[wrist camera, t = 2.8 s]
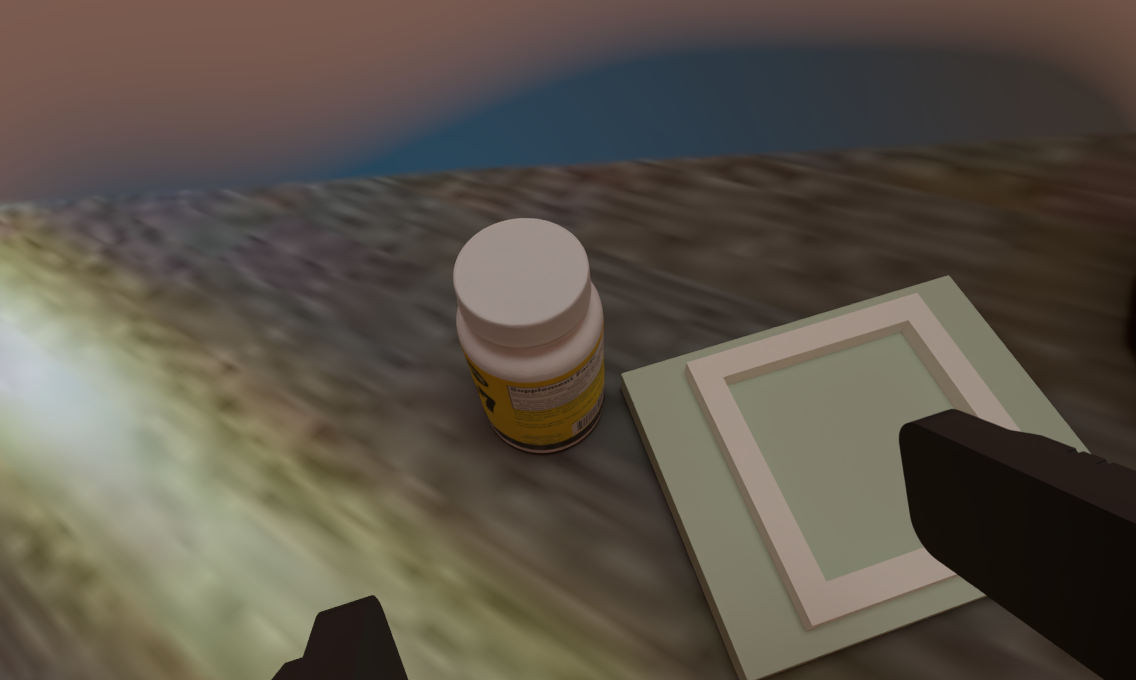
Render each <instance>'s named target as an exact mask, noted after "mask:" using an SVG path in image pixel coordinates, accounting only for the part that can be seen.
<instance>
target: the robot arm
mask: <svg viewBox="0 0 1136 680" xmlns="http://www.w3.org/2000/svg"><path fill="white" fill-rule="evenodd" d="M899 447H900V454H901V460H902V467H903V474H904V480H905V487H906V494H907V500H908V507H909V514H910V519H911V523H912V526H913V528H914V531H915V533H916V535H917V537H918V539H919V540H920V542H921V544H922V545H923V546H924V548H925V549H926V550H927V551H928V553H929V554H930V555H931V556H932V557H934V558H935V559H936V560H937V561H939V562H940V563H942V564H943V565H944V566H946V567H947V568H949V569H950V570H951V571H953V572H954V573H956V574H957V575H958V576H960V577H961V578H963V579H964V580H965V581H967V582H968V583H970V584H971V585H972V586H974V587H975V588H977V589H978V590H979V591H981V592H982V593H984V594H985V595H986V596H988V597H989V598H991V599H992V600H993V601H995V602H996V603H998V604H999V605H1000V606H1002V607H1003V608H1005V609H1006V610H1007V611H1009V612H1010V613H1012V614H1013V615H1014V616H1016V617H1017V618H1019V619H1020V620H1021V621H1023V622H1024V623H1026V624H1027V625H1028V626H1030V627H1031V628H1033V629H1034V630H1035V631H1037V632H1038V633H1040V634H1041V635H1042V636H1044V637H1045V638H1047V639H1048V640H1049V641H1051V642H1052V643H1054V644H1055V645H1056V646H1058V647H1059V648H1061V649H1062V650H1063V651H1065V652H1066V653H1068V654H1069V655H1070V656H1072V657H1073V658H1075V659H1076V660H1077V661H1079V662H1080V663H1082V664H1083V665H1084V666H1086V667H1087V668H1089V669H1090V670H1091V671H1093V672H1094V673H1096V674H1097V675H1098V676H1100V677H1101V678H1103V679H1104V680H1136V471H1135V470H1132V469H1129V468H1127V467H1124V466H1121V465H1119V464H1116V463H1111V464H1108V463H1107V462H1106V459H1103V458H1100V457H1098V456H1095V455H1092V454H1090V453H1087V452H1084V451H1082V452H1078V451H1077V450H1076V448H1074V447H1071V446H1069V445H1066V444H1063V443H1061V442H1058V441H1055V440H1053V439H1050V438H1047V437H1045V436H1042V435H1038V434H1032V433H1026V432H1020V431H1014V430H1009V429H1006V428H1004V427H1001V426H999V425H996V424H994V423H991V422H988V421H986V420H983V419H981V418H978V417H976V416H973V415H970V414H968V413H965V412H963V411H960V410H957V409H949V410H945V411H942V412H939V413H936V414H933V415H930V416H927V417H924V418H921V419H918V420H915V421H911V422H908V423H906V424H904V425H903V426H902V427H901V429H900V432H899ZM272 680H408V678H407V675H406V672H405V669H404V667H403V664H402V661H401V658H400V655H399V653H398V650H397V647H396V644H395V642H394V639H393V636H392V633H391V630H390V628H389V625H388V622H387V619H386V617H385V614H384V611H383V609H382V606H381V604H380V602H379V601H378V599H377V598H376V597H375V596H374V595H371V596H368V597H365V598H362V599H359V600H356V601H353V602H350V603H347V604H343V605H340V606H337V607H334V608H331V609H328V610H325V611H322V612H320V613H318V615H317V616H316V619H315V622H314V625H313V628H312V631H311V634H310V637H309V640H308V643H307V646H306V649H305V652H304V655H303V657H302V658H299V659H296V660H293V661H290V662H287V663H285V664H284V665H283V666H282V667H281V669H280V670H279V671H278V672H277V673H276V675H275V676H274V677H273V678H272Z"/></svg>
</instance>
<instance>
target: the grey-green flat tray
mask: <svg viewBox="0 0 1136 680" xmlns="http://www.w3.org/2000/svg"><path fill="white" fill-rule="evenodd" d="M621 390H622V393H623V395H624V397H625V400H626V402H627V405H628V407H629V410H630V412H631V415H632V417H633V420H634V422H635V425H636V427H637V430H638V432H639V434H640V437H641V439H642V442H643V444H644V447H645V449H646V452H647V454H648V457H649V459H650V462H651V464H652V467H653V469H654V471H655V474H656V476H657V479H658V481H659V484H660V486H661V489H662V491H663V494H664V496H665V499H666V501H667V504H668V506H669V508H670V511H671V513H672V516H673V518H674V521H675V523H676V526H677V528H678V531H679V533H680V536H681V538H682V541H683V543H684V545H685V548H686V550H687V553H688V555H689V558H690V560H691V563H692V565H693V568H694V570H695V573H696V575H697V578H698V580H699V583H700V585H701V587H702V590H703V592H704V595H705V597H706V600H707V602H708V605H709V607H710V610H711V612H712V615H713V617H714V620H715V622H716V624H717V627H718V629H719V632H720V634H721V637H722V639H723V642H724V644H725V647H726V649H727V652H728V654H729V657H730V659H731V661H732V664H733V666H734V669H735V671H736V674H737V676H738V679H739V680H760V679H763V678H766V677H769V676H771V675H774V674H777V673H780V672H782V671H785V670H788V669H790V668H793V667H796V666H799V665H801V664H804V663H807V662H810V661H812V660H815V659H818V658H820V657H823V656H826V655H829V654H831V653H834V652H837V651H840V650H842V649H845V648H848V647H850V646H853V645H856V644H859V643H861V642H864V641H867V640H870V639H872V638H875V637H878V636H880V635H883V634H886V633H889V632H891V631H894V630H897V629H900V628H902V627H905V626H908V625H911V624H913V623H916V622H919V621H921V620H924V619H927V618H930V617H932V616H935V615H938V614H941V613H943V612H946V611H949V610H951V609H954V608H957V607H960V606H962V605H965V604H968V603H971V602H973V601H976V600H979V599H981V598H984V597H987V596H986V595H985V594H984V593H982V592H981V591H979V590H978V589H977V588H975V587H974V586H972V585H971V584H970V583H968V582H967V581H965V580H964V579H963V578H961V577H960V576H958V575H957V574H956V573H954V572H953V571H951V570H950V569H949V568H947V567H946V566H944V565H943V564H942V563H940V562H939V561H937V560H936V559H935V558H934V557H932V556H931V555H930V554H929V553H928V551H927V550H926V549H925V548H924V546H923V545H922V544H921V542H920V540H919V539H918V537H917V535H916V533H915V531H914V528H913V526H912V523H911V519H910V514H909V507H908V500H907V494H906V487H905V480H904V474H903V467H902V460H901V454H900V447H899V432H900V429H901V427H902V426H903V425H904V424H906V423H908V422H911V421H915V420H918V419H921V418H924V417H927V416H930V415H933V414H936V413H939V412H942V411H945V410H949V409H957V410H960V411H963V412H965V413H968V414H970V415H973V416H976V417H978V418H981V419H983V420H986V421H988V422H991V423H994V424H996V425H999V426H1001V427H1004V428H1006V429H1009V430H1014V431H1020V432H1026V433H1032V434H1038V435H1042V436H1045V437H1047V438H1050V439H1053V440H1055V441H1058V442H1061V443H1063V444H1066V445H1069V446H1071V447H1074V448H1076V450H1077V451H1078V452H1082V451H1084V452H1087V453H1090V452H1089V451H1088V450H1087V448H1086V447H1085V446H1084V445H1083V443H1082V442H1081V441H1080V439H1079V438H1078V437H1077V436H1076V434H1075V433H1074V432H1073V431H1072V429H1071V428H1070V427H1069V426H1068V424H1067V423H1066V422H1065V421H1064V419H1063V418H1062V417H1061V416H1060V414H1059V413H1058V412H1057V411H1056V409H1055V408H1054V407H1053V406H1052V404H1051V403H1050V402H1049V401H1048V399H1047V398H1046V397H1045V396H1044V394H1043V393H1042V392H1041V390H1040V389H1039V388H1038V387H1037V385H1036V384H1035V383H1034V382H1033V380H1032V379H1031V378H1030V377H1029V375H1028V374H1027V373H1026V372H1025V370H1024V369H1023V368H1022V367H1021V365H1020V364H1019V363H1018V362H1017V360H1016V359H1015V358H1014V357H1013V355H1012V354H1011V353H1010V352H1009V350H1008V349H1007V348H1006V347H1005V345H1004V344H1003V343H1002V341H1001V340H1000V339H999V338H998V336H997V335H996V334H995V333H994V331H993V330H992V329H991V328H990V326H989V325H988V324H987V323H986V321H985V320H984V319H983V318H982V316H981V315H980V314H979V313H978V311H977V310H976V309H975V308H974V306H973V305H972V304H971V303H970V301H969V300H968V299H967V297H966V296H965V295H964V294H963V292H962V291H961V290H960V289H959V287H958V286H957V285H956V284H955V282H954V281H953V280H952V279H951V277H950V276H949V275H948V276H945V277H941V278H938V279H935V280H931V281H928V282H925V283H921V284H918V285H915V286H912V287H908V288H905V289H902V290H898V291H895V292H892V293H888V294H885V295H882V296H878V297H875V298H872V299H868V300H865V301H862V302H858V303H855V304H852V305H848V306H845V307H842V308H838V309H835V310H832V311H828V312H825V313H822V314H818V315H815V316H812V317H808V318H805V319H802V320H799V321H795V322H792V323H789V324H785V325H782V326H779V327H775V328H772V329H769V330H765V331H762V332H759V333H755V334H752V335H749V336H745V337H742V338H739V339H735V340H732V341H729V342H725V343H722V344H719V345H715V346H712V347H709V348H705V349H702V350H699V351H695V352H692V353H689V354H685V355H682V356H679V357H676V358H672V359H669V360H666V361H662V362H659V363H656V364H652V365H649V366H646V367H642V368H639V369H636V370H632V371H629V372H626V373H622V374H621ZM1090 454H1091V453H1090Z"/></svg>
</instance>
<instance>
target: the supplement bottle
mask: <svg viewBox="0 0 1136 680" xmlns="http://www.w3.org/2000/svg"><path fill="white" fill-rule="evenodd" d="M453 282H454V288H455V292H456V296H457V302H458V309H457V317H456V324H457V332H458V337H459V341H460V343H461V346H462V349H463V352H464V354H465V357H466V360H467V363H468V366H469V369H470V371H471V374H472V377H473V380H474V383H475V385H476V388H477V391H478V394H479V396H480V399H481V402H482V405H483V407H484V410H485V413H486V415H487V418H488V420H489V422H490V424H491V426H492V427H493V429H494V430H495V431H496V433H497V434H498V435H499V436H500V437H501V438H502V439H503V440H505V441H506V442H507V443H509V444H510V445H512V446H514V447H516V448H519V449H521V450H524V451H528V452H534V453H549V452H555V451H559V450H563V449H565V448H568V447H570V446H572V445H574V444H576V443H578V442H579V441H580V440H582V439H583V438H585V437H586V436H587V435H588V434H589V433H590V432H591V431H592V429H593V428H594V427H595V425H596V423H597V422H598V420H599V418H600V416H601V413H602V410H603V406H604V398H605V384H604V319H603V310H602V304H601V300H600V297H599V295H598V292H597V290H596V288H595V287H594V285H593V283H592V282H591V280H590V269H589V262H588V258H587V255H586V252H585V250H584V248H583V246H582V245H581V243H580V242H579V241H578V239H577V238H576V237H575V236H574V235H573V234H571V233H570V232H569V231H567V230H566V229H564V228H562V227H560V226H559V225H557V224H554V223H552V222H549V221H545V220H540V219H532V218H518V219H511V220H506V221H502V222H499V223H496V224H493V225H491V226H489V227H487V228H485V229H483V230H481V231H480V232H479V233H477V234H476V235H475V236H473V237H472V238H471V239H470V240H469V241H468V242H467V243H466V245H465V246H464V247H463V248H462V250H461V252H460V253H459V255H458V257H457V260H456V263H455V266H454V272H453Z"/></svg>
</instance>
